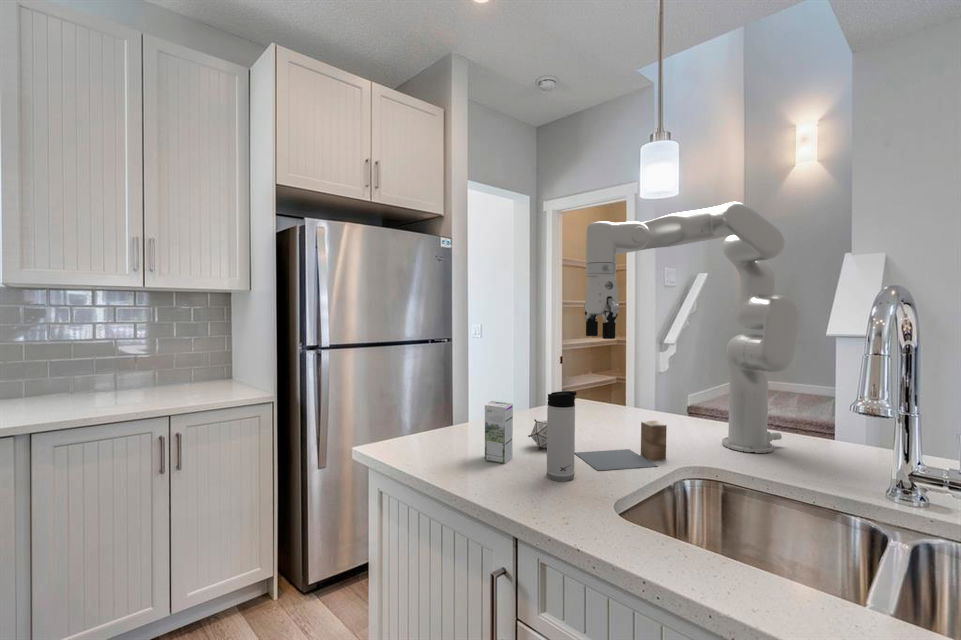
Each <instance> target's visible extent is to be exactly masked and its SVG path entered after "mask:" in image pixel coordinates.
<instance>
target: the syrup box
mask: <svg viewBox="0 0 961 640" xmlns="http://www.w3.org/2000/svg"><path fill="white" fill-rule="evenodd" d="M513 415H514V404H513V402H508V401H507V402H505V401H499V400H498V401H497V400H496V401H495V400H493V401H489V402H487V403H486V404H484V461H485V460H486V462H491V461H492V463H497V462H498V463H499V464H506V463H508V462H509V461H510V460H512V459H513V453H514V452H513V436H514V435H513V430H514V429H513V428H514V427H513V425H514V422H513V419H514V416H513Z"/></svg>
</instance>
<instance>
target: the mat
mask: <svg viewBox="0 0 961 640" xmlns="http://www.w3.org/2000/svg"><path fill="white" fill-rule="evenodd" d="M574 455H576V456H577V457H578V456H579V457H578V458H580V459H581V460H582V459H583V460H582V461H584V462H585V463H586V464H587V465H589V466H590V467H591V468H593V469H594V470H595V469H596V470H595V471H597V472H602V471H603V472H604V470H605V471H615V470H616V471H617V469H619V470H631V469H632V468H633V469H644V468H657V467H659V465H657V464H656V463H653V462H652V461H650V460H648V459H647V458H645V457H643V456H641V454H638V453H636V452H635V451H633V450H631V449H629V448H626V449H624V448H623V449H611V450H610V449H608V450H595V451H577V452H575V454H574ZM629 468H630V469H629Z"/></svg>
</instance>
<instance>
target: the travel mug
mask: <svg viewBox="0 0 961 640" xmlns="http://www.w3.org/2000/svg"><path fill="white" fill-rule="evenodd" d="M577 394H578V393H577V391H576V390H562V391H553V392H551V393H548V394H547V406H546V407H547V409H546V411H547V416H546V421H547V447H546V476H547V478H548V479H550V480H552V481H556V482H569V481H571V480H573V479H574V478H575V455H576V454H575V453H576V452H575V450H576V449H575V447H576V446H575V442H576V440H575V439H576V438H575V437H576V436H575V434H576V430H575V429H576V409H575V408H576V403H575V402H576V396H577Z"/></svg>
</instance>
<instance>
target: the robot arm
mask: <svg viewBox="0 0 961 640" xmlns="http://www.w3.org/2000/svg"><path fill="white" fill-rule="evenodd" d="M585 232H586V233H585V234H586V236H585V237H586V238H585V239H586V240H585V241H586V242H585V243H586V246H585V247H586V250H585V253H586V254H585V255H586V256H585V263H586V264H585V277H586V278H587V279H586V286H585V287H586V289H585V303H584V306H583V307H584V315H585V336H586V337H597V336H598V335H599V334H598V332H599V330H598V329H599V321H598V320H597V319H598V317H599V316H600V315H601V316H602V320H603V322H602V334H601V335H602V339H604V340H614V339H616V324H617V317H618V314H619V307H620V306H619V289H618V281H617V255H622V254H629V253H633V252H640V251H644V250H651V249H652V250H653V249H660V248H670V247H671V248H672V247H676V246H682V245H689V244H693V243H694V244H695V243H700V242H704V241H711V240H716V239H717V240H718V239H722V238H725V239H724V241H723V243H722V251H723V254H724V255H725V257H726V258H727V259H728V260H729V261H730V262H731V264H733V266H734V267H735V269H736V270H737V272H738V275H739V291H738V299H737V308H736V321H737V323H738V324H739V325H740V326H741V327H743V328H745V329H749V330H756V331H757V330H759V331H762V334H754V333H742V334H738V335H735V336H734V337H732V338H731V339H730V340H729V342H728V343H727V345H726V352H725V353H726V360H727V365H728V371H729V390H728V391H729V392H728V393H729V394H728V396H729V398H728V429H727V430H728V434H727V437H724V438H722V441H721V444H722V445H723V446H724V447H726V448H727V449H730V448H731V450H734V451H737V452H738V451H739V452H743V451H744V453H750V452H755V453H754V454H767V452H768V453H771V452H774V445H773V444H772V443H771V442H772V441H778V440H779V441H780V440H782V439H783V437H782V436H783V435H782V434H781V433H780V432H772V433H771V432H770V431H768V419H769V416H768V414H769V412H768V410H769V381H768V378H767V377H768V376H767V375H766V372H767V373H774V374H776V373H782V372H785V371H787V369H789V368H790V366H791V365H792V363H793V361H794V358H795V353H796V345H797V338H798V331H799V321H800V314H799V309H798V306H797V304H796V302H795V301H794V300H793V299H792V298H791V297H789V296H787V295H784V294H783V295H782V294H775V291H776V290H775V287H776V275H775V272H774V269H773V267H772V265H771V264H770V262H769V261H768V260H772V259H775V258H776V257H778V256H779V255H780V254H782V252H783V250H784V247H785V238H784V235H783V233H782V232H781V231H780V229H779V228H777V227H776V226H775V225H774V224H773V223H772V222H770V221H769V220H768V219H766V218H765V217H764V216H762V215H761V214H760V213H759V212H757V210H754V209H753V208H751V207H750V206H748V205H747V204H744V203H742V202H738V201H731V202H727V203H723V204H721V205H717V206H712V207H707V208H702V209H701V208H700V209H694V210H688V211H682V212H681V211H680V212H676V213H675V212H674V213H670V214H667V215H664V216H660V217H657V218H654V219H652V220H651V219H650V220H647V221H642V222H640V221H633V220H632V221H625V222H624V221H623V222H612V221H594V222H591V223H589V224H588V225H587V227H586V231H585Z"/></svg>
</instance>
